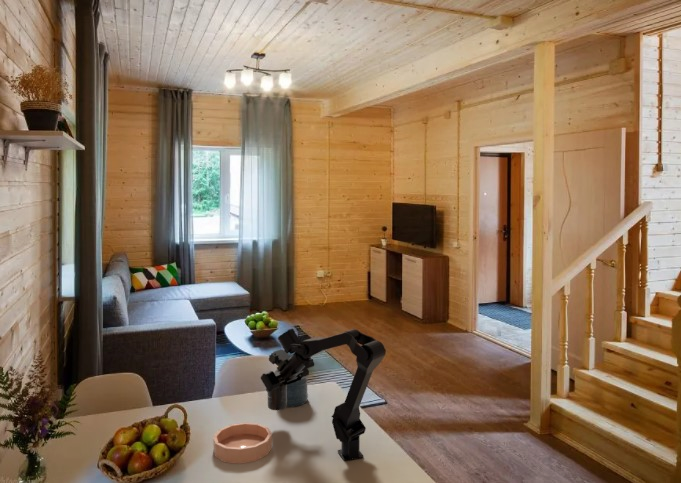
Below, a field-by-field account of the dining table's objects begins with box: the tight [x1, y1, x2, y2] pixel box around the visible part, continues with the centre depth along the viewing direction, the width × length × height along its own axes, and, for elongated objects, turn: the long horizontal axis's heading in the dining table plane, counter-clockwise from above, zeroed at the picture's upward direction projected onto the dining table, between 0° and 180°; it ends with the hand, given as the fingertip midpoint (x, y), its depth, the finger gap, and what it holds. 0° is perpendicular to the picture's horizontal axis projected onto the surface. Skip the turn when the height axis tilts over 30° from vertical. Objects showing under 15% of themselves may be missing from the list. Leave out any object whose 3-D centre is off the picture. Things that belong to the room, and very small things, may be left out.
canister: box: [274, 365, 309, 408], centre depth 210 cm, size 13×13×18 cm
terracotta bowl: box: [212, 422, 273, 464], centre depth 172 cm, size 18×18×4 cm
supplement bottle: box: [266, 371, 287, 411], centre depth 188 cm, size 7×7×12 cm
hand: (274, 387), depth 189 cm, fingers closed on supplement bottle, 7 cm apart
